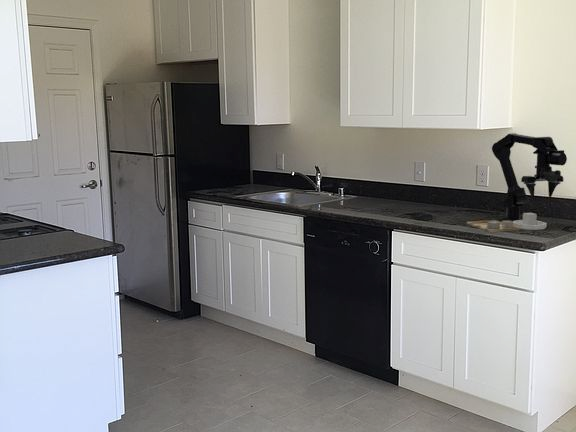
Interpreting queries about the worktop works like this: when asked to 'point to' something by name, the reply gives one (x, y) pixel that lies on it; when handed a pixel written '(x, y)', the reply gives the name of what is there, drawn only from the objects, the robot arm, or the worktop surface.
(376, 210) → the worktop surface
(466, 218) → the worktop surface
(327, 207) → the worktop surface
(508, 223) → the grey cubic piece
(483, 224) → the tray
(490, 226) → the grey piece
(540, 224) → the bowl
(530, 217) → the grey rectangular block
